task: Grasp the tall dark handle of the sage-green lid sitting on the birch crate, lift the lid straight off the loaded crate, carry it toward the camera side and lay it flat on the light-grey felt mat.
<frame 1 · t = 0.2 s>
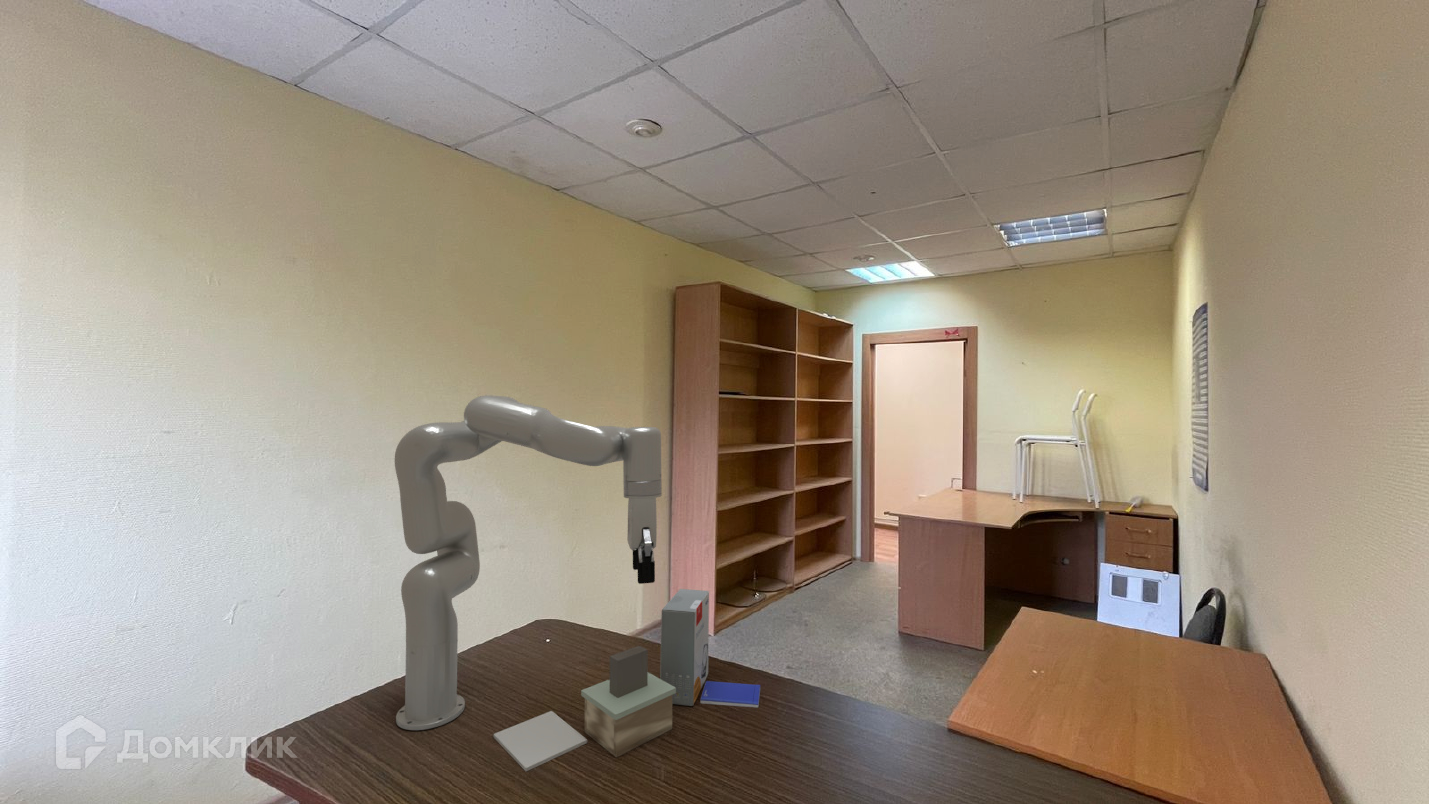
hand: (643, 575, 108), 30 cm above the table, tool pointing down, fingers open, 9 cm apart
crate: (628, 730, 107), on the table
mat: (539, 740, 104), on the table
lid: (628, 699, 107), point 6 cm above the table, touching crate
hard drive: (731, 699, 120), on the table
hard drive box: (685, 689, 124), on the table
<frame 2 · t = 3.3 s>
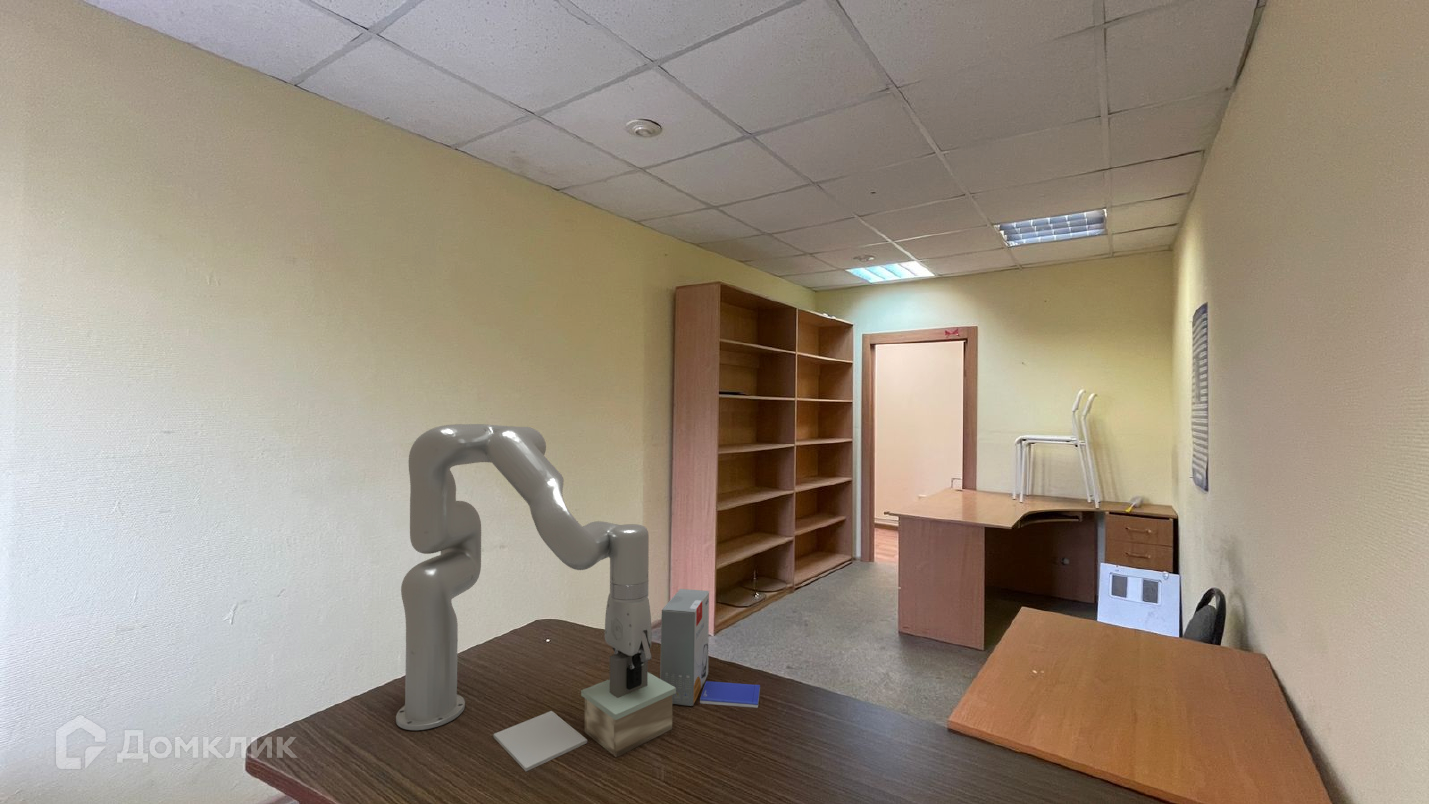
hand: (628, 682, 107), 9 cm above the table, tool pointing down, fingers closed on lid, 2 cm apart
lid: (628, 699, 107), point 6 cm above the table, touching gripper
everything else where it was.
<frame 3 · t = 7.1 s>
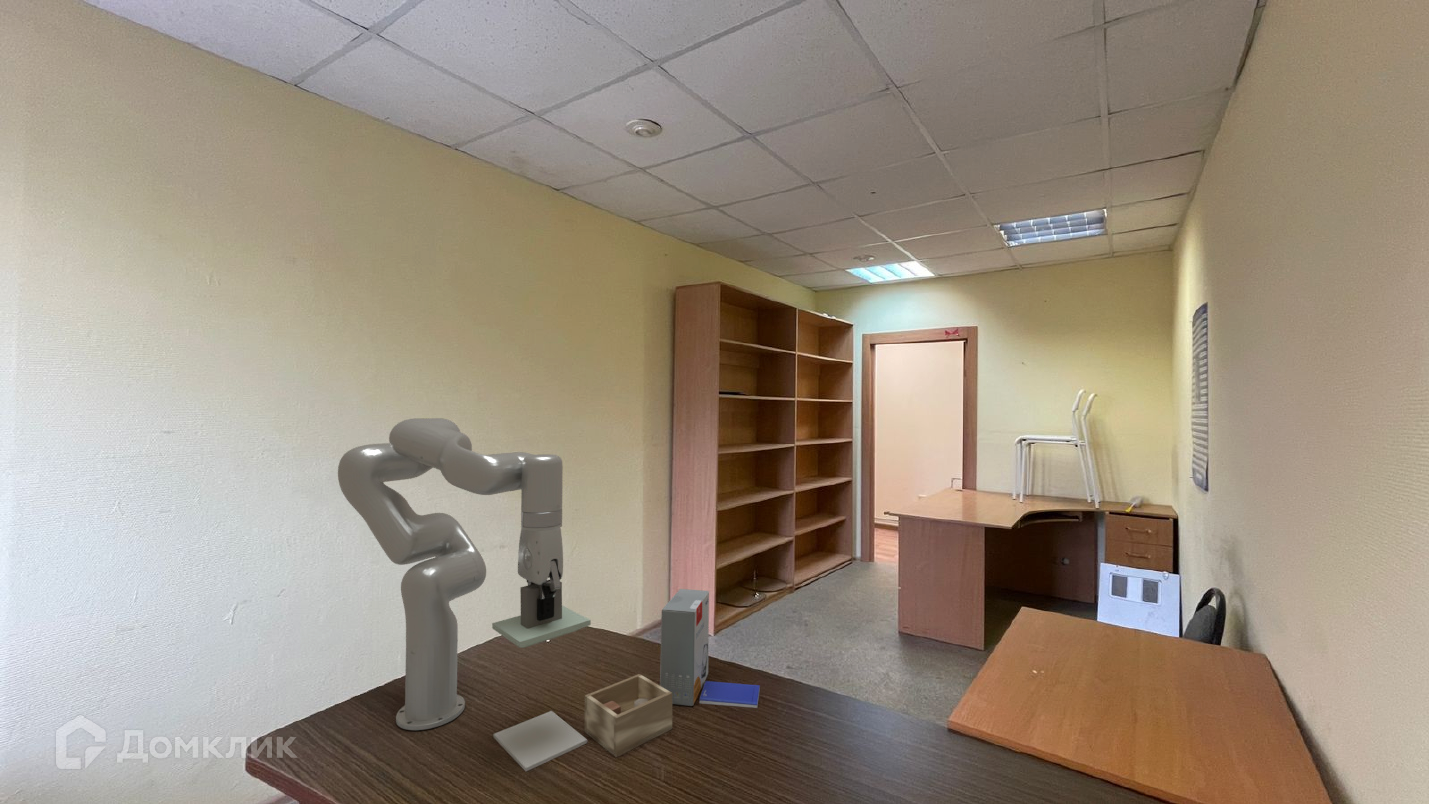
hand: (541, 615, 104), 23 cm above the table, tool pointing down, fingers closed on lid, 2 cm apart
lid: (541, 632, 104), point 20 cm above the table, touching gripper
everything else where it was.
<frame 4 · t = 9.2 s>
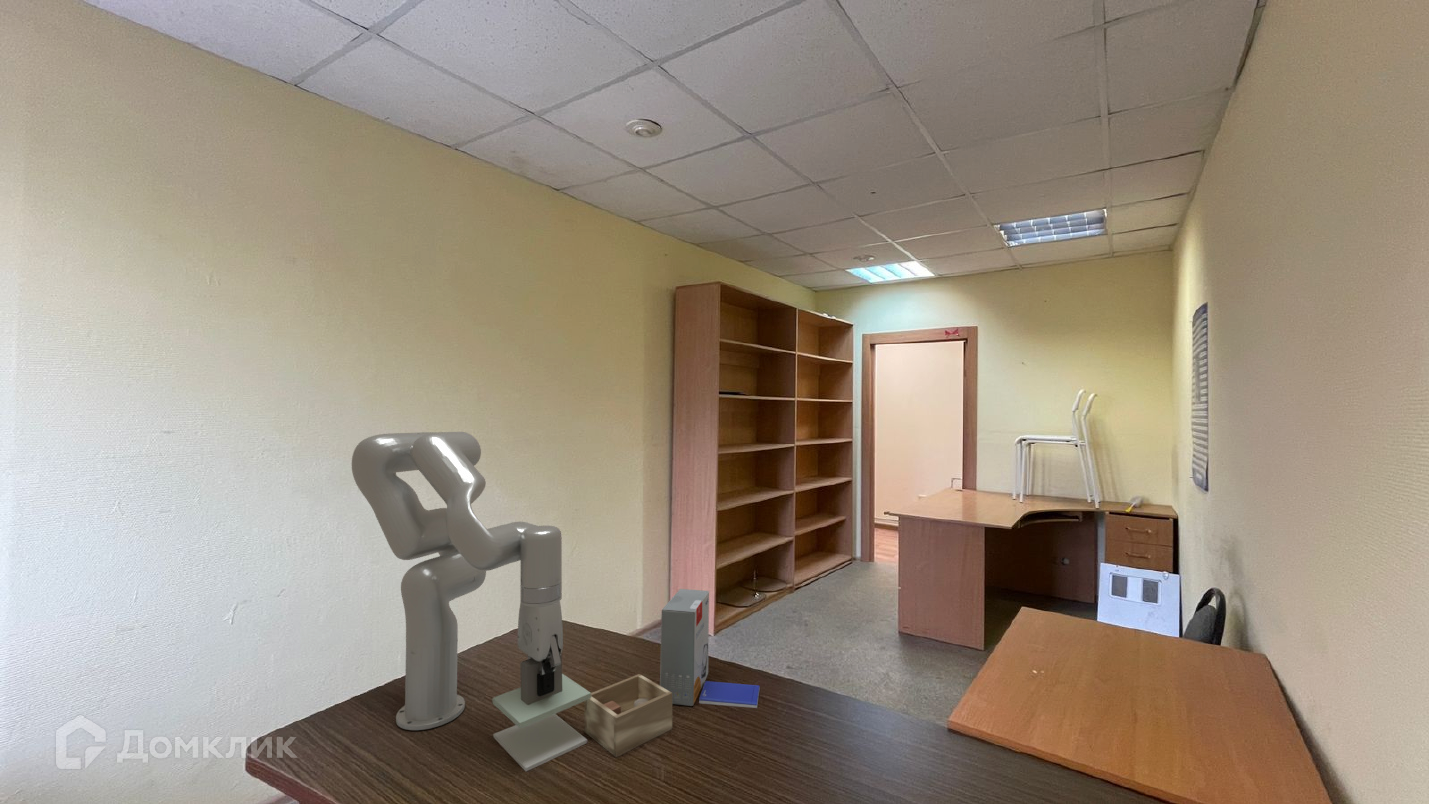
hand: (541, 689, 104), 10 cm above the table, tool pointing down, fingers closed on lid, 2 cm apart
lid: (542, 706, 104), point 6 cm above the table, touching gripper
everything else where it was.
when the fingers open (5 cm above the table, at t = 10.8 s): lid drops 2 cm, resting on mat.
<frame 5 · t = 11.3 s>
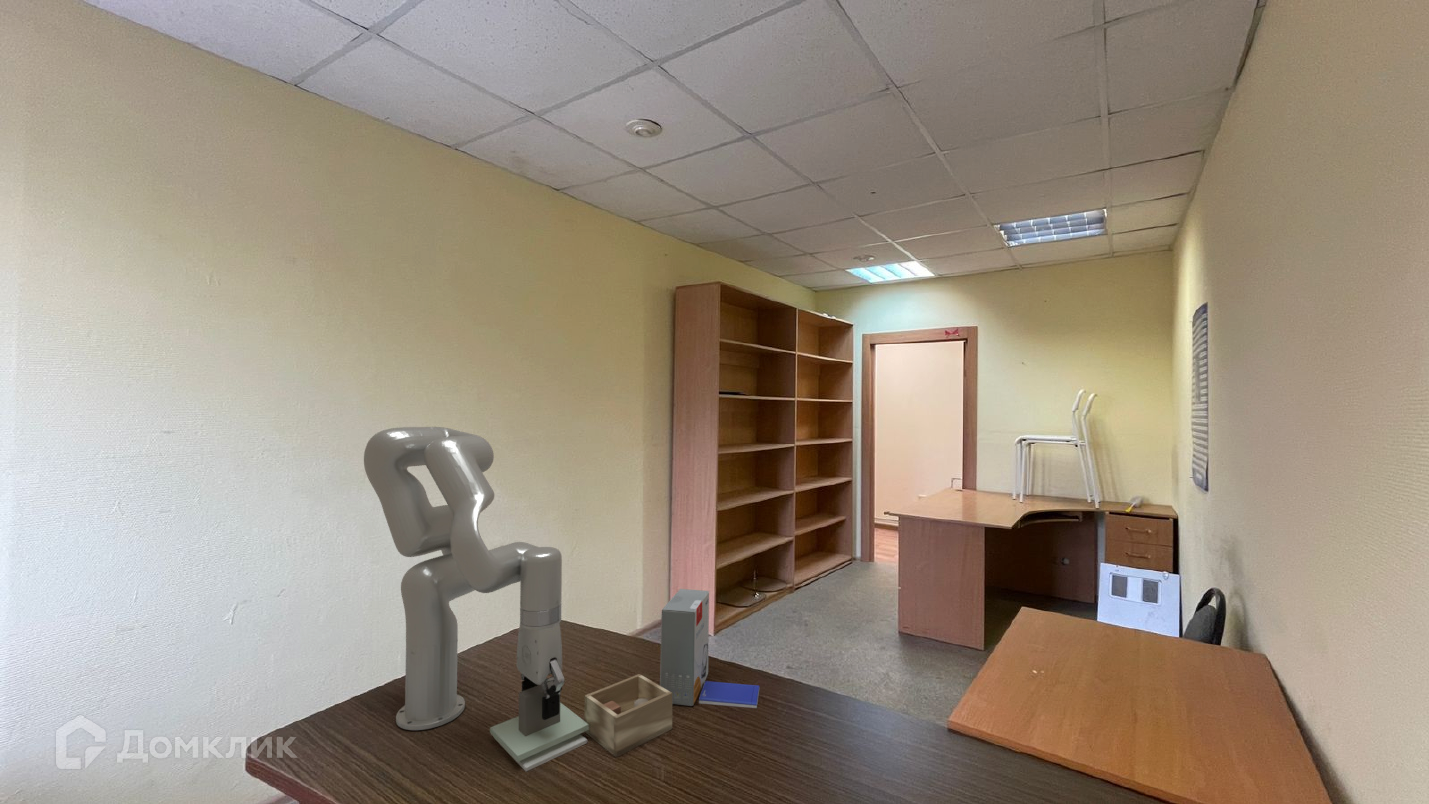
hand: (540, 707, 104), 6 cm above the table, tool pointing down, fingers open, 7 cm apart
lid: (539, 736, 104), point 1 cm above the table, touching mat
everything else where it was.
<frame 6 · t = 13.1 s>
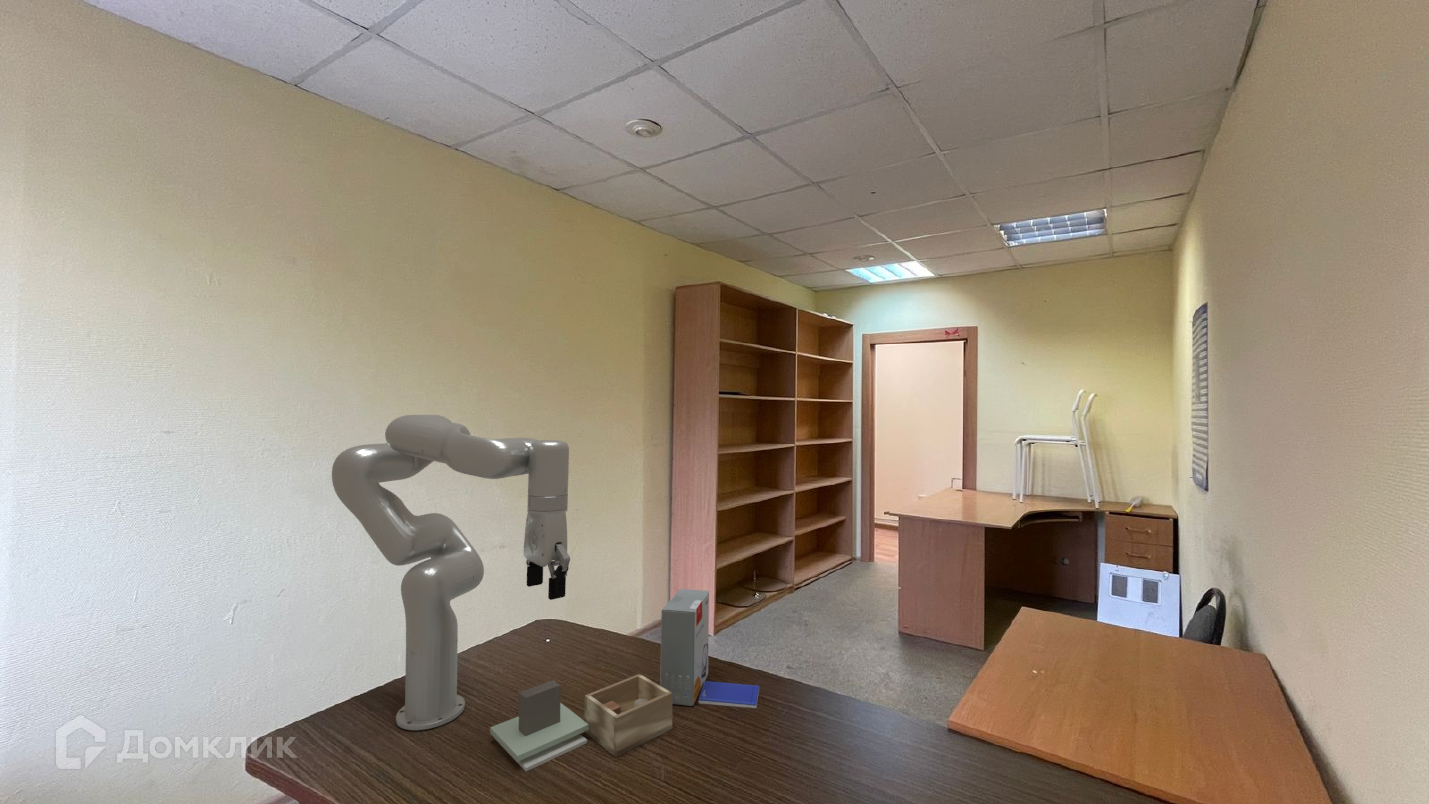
hand: (545, 591, 107), 27 cm above the table, tool pointing down, fingers open, 9 cm apart
nothing on the table moved.
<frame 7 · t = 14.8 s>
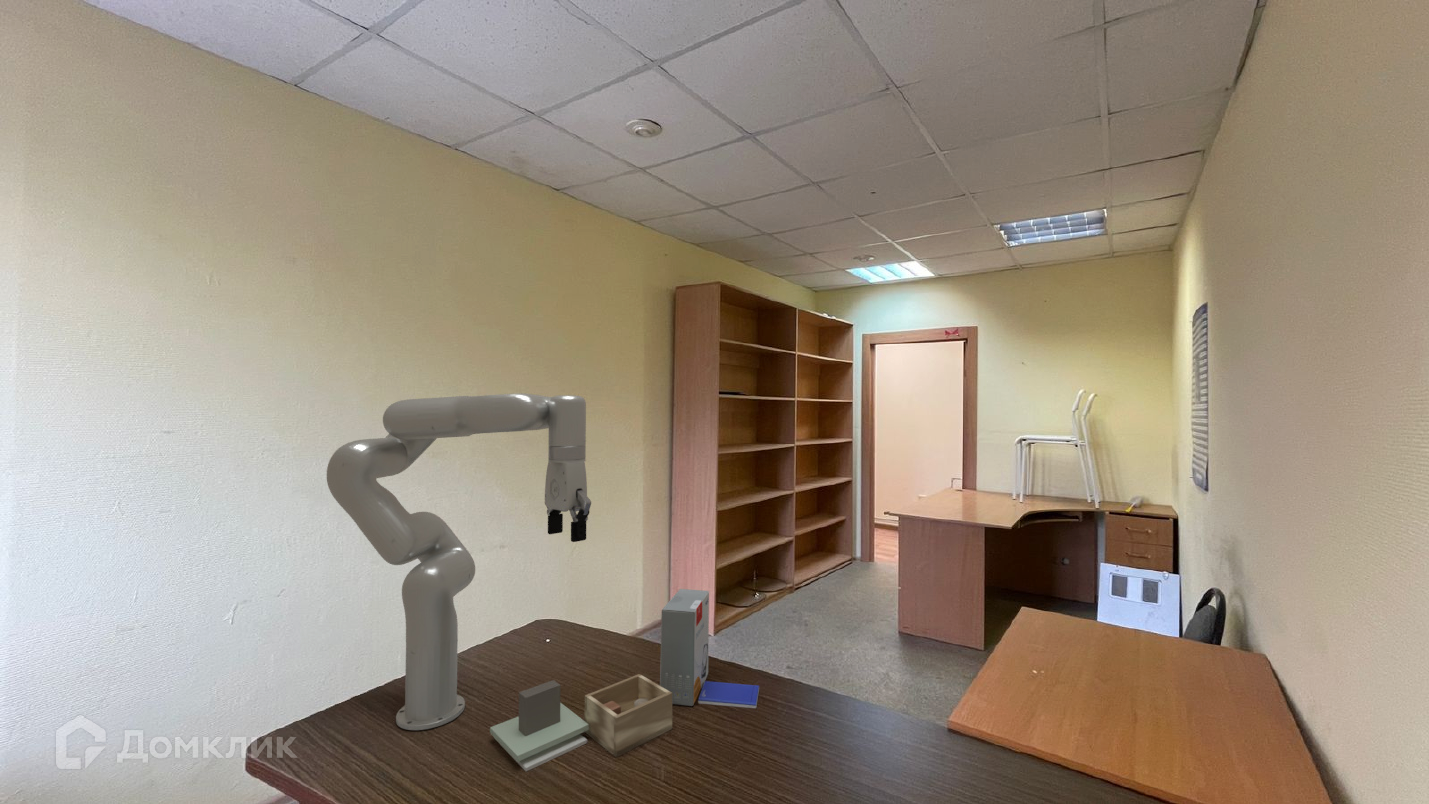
hand: (566, 536, 114), 36 cm above the table, tool pointing down, fingers open, 9 cm apart
nothing on the table moved.
at the end: lid inside the target area on the mat (0.1 cm from its centre), point 0.6 cm above the mat's base; lid tilted 0°; lid touching mat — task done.
